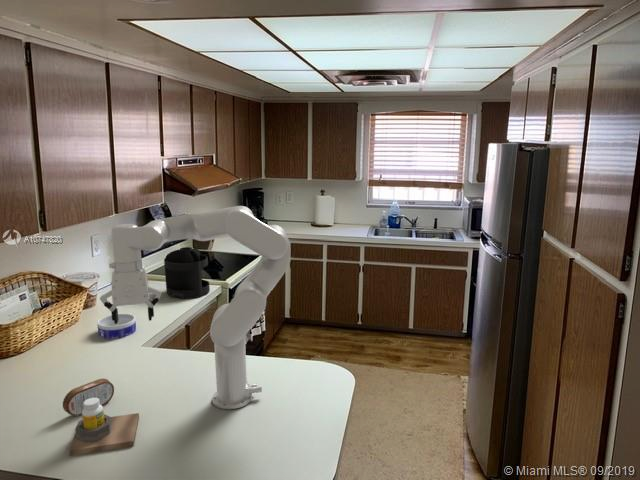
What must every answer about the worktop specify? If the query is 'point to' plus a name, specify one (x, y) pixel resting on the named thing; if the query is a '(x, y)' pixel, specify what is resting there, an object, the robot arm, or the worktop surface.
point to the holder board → (106, 435)
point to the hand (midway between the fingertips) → (133, 320)
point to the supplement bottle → (92, 414)
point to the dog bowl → (116, 326)
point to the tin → (88, 395)
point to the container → (185, 273)
